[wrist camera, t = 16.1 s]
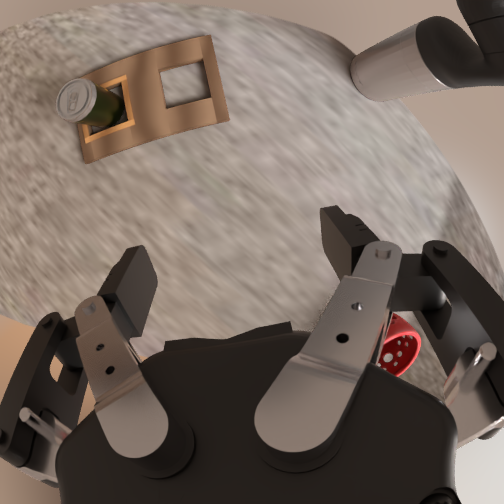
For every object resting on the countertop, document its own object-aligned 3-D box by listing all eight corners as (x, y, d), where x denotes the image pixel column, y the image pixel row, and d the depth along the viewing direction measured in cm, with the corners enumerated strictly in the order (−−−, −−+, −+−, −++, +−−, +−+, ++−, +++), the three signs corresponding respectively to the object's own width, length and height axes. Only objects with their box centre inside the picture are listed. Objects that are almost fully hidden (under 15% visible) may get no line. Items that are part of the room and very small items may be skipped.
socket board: (210, 38, 31) (210, 33, 30) (229, 120, 36) (229, 119, 35) (75, 83, 30) (70, 81, 29) (89, 163, 35) (84, 164, 34)
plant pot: (322, 328, 50) (346, 370, 39) (376, 284, 49) (411, 316, 37) (352, 359, 55) (375, 397, 43) (398, 321, 53) (428, 353, 42)
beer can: (123, 127, 34) (90, 119, 23) (92, 129, 34) (51, 124, 22) (127, 93, 33) (96, 73, 21) (95, 96, 32) (57, 80, 21)
